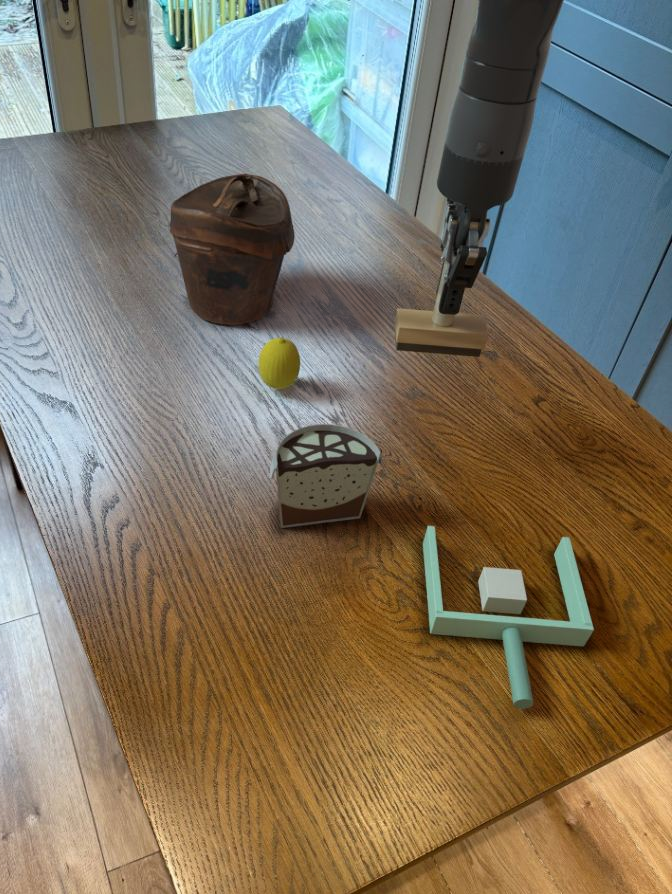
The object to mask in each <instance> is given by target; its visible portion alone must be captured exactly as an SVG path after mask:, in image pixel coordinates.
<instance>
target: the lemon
mask: <svg viewBox="0 0 672 894" xmlns="http://www.w3.org/2000/svg"><path fill="white" fill-rule="evenodd" d="M300 369H301V357H300V352H299V350H298V347H297V346H296V345H295V343H294V342H293V341H291V340H290V339H288V338H284V337H276V338H275V337H274V338H272V339H270V340H269V341H267V342H266V343H265V344H264V345H263V347H262V348H261V351H260V354H259V356H258V373H259V376H260V378H261V380H262V381H263V383H264V384H265V385H266V386H268V387H269V388H272V389H274V390H275V389H276V390H283V389H287V388H289V387H290V386H292V385H293V384H294V383H295V382H296V380H297V379H298V377H299V375H300V371H301V370H300Z"/></svg>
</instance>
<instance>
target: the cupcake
mask: <svg viewBox="0 0 672 894" xmlns="http://www.w3.org/2000/svg"><path fill="white" fill-rule="evenodd" d="M378 465H379V466H380V467H384V462H383V456H382V452H381V450H380V449H379V447H378V446H377V445H376V444H375V442H374V441H373V440H371V439H370V437H368V436H366V435H364V434H363V433H362V432H360V431H357V430H355V429H353V428H351V427H347V426H344V425H338V424H331V423H317V424H316V423H315V424H310V425H306V426H301V427H300V428H296V429H294V430H293V431H292V432H290V433H287V435H286V436H285V437H283V439H282V440H281V441H280V442H279V444H278V446H277V447H276V449H275V451H274V453H273V456H272V459H271V462H270V466H269V476H270V479H271V480H274V479H273V478H274V475H276V477H275V478H276V488H277V501H278V515H279V525H280V528H281V529H285V528H292V527H293V528H294V527H299V526H300V527H301V526H310V525H317V524H323V523H325V524H326V523H333V522H341V521H342V522H343V521H349V520H357V519H361V517H362V514H363V511H364V508H365V505H366V502H367V498H368V496H369V492H370V489H371V487H372V484H373V481H374V477H375V475H376V471H377V468H378Z"/></svg>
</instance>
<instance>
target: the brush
mask: <svg viewBox="0 0 672 894" xmlns="http://www.w3.org/2000/svg"><path fill="white" fill-rule="evenodd" d="M447 264H448V262H447V261H445V263H444V265H443V266H444V267H443V272H442V276H441V281H440V285H439V289H438V294H437V295H436V299H435V303H434V307H433V310H424V309H413V308H412V309H411V308H399V307H398V308H397V309H396V314H395V319H394V330H395V331H394V338H395V339H394V340H395V350H396V351H399V352H400V351H401V352H410V353H411V352H413V353H424V354H425V353H426V354H436V355H449V356H460V357H473V358H474V357H475V358H480V356H481V353H482V350H485V348H486V344H487V341H488V337H489V332H488V327H487V323H486V318H485V315H484V314H473V313H462V312H459V313H458V314H456V315H449V314H441V313H440V312H439V302H440V298H441V294H442V289H443V285H444V281H445V280H444V275H445V273H446V268H447Z"/></svg>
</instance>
